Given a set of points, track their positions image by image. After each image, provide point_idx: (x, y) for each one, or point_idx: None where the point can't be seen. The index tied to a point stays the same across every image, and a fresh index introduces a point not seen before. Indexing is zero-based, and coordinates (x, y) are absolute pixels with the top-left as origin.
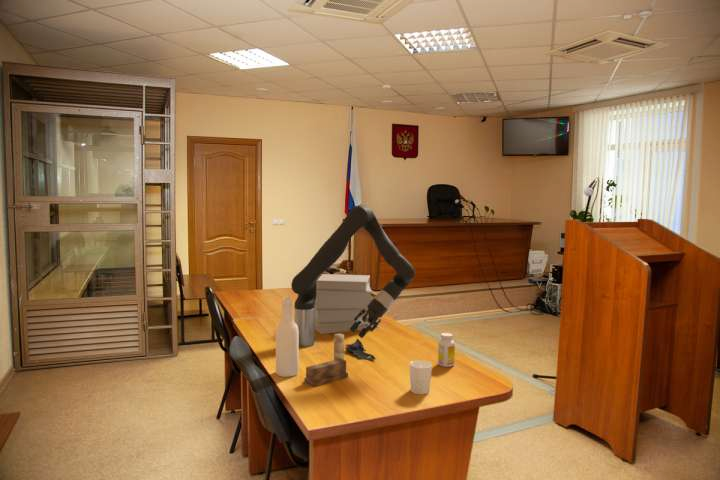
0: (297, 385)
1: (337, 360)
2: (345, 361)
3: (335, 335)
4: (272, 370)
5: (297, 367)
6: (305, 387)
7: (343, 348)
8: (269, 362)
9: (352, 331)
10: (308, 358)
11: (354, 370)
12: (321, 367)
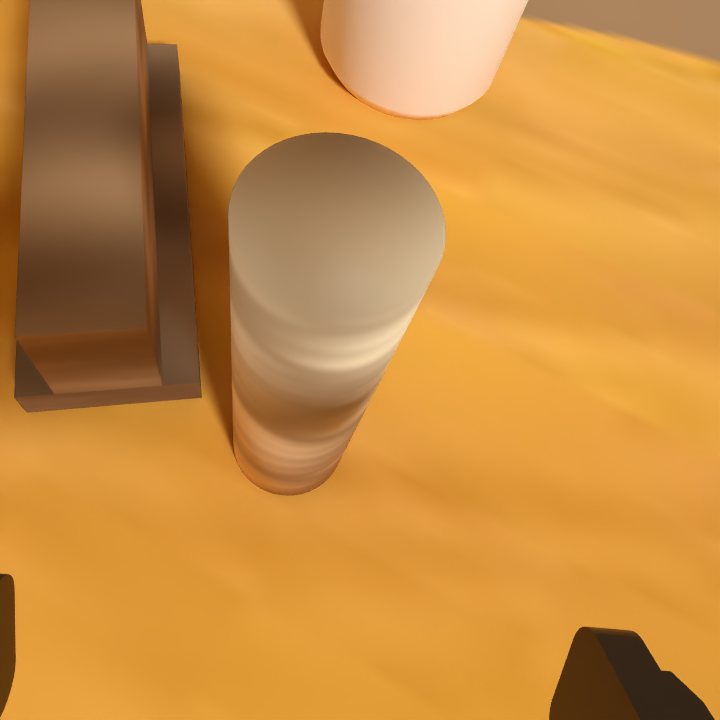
0: None
1: (109, 258)
2: (17, 326)
3: (354, 157)
4: None
5: (350, 44)
6: None
7: (247, 382)
8: (676, 67)
9: (560, 703)
10: (685, 333)
11: (156, 579)
12: (29, 34)
